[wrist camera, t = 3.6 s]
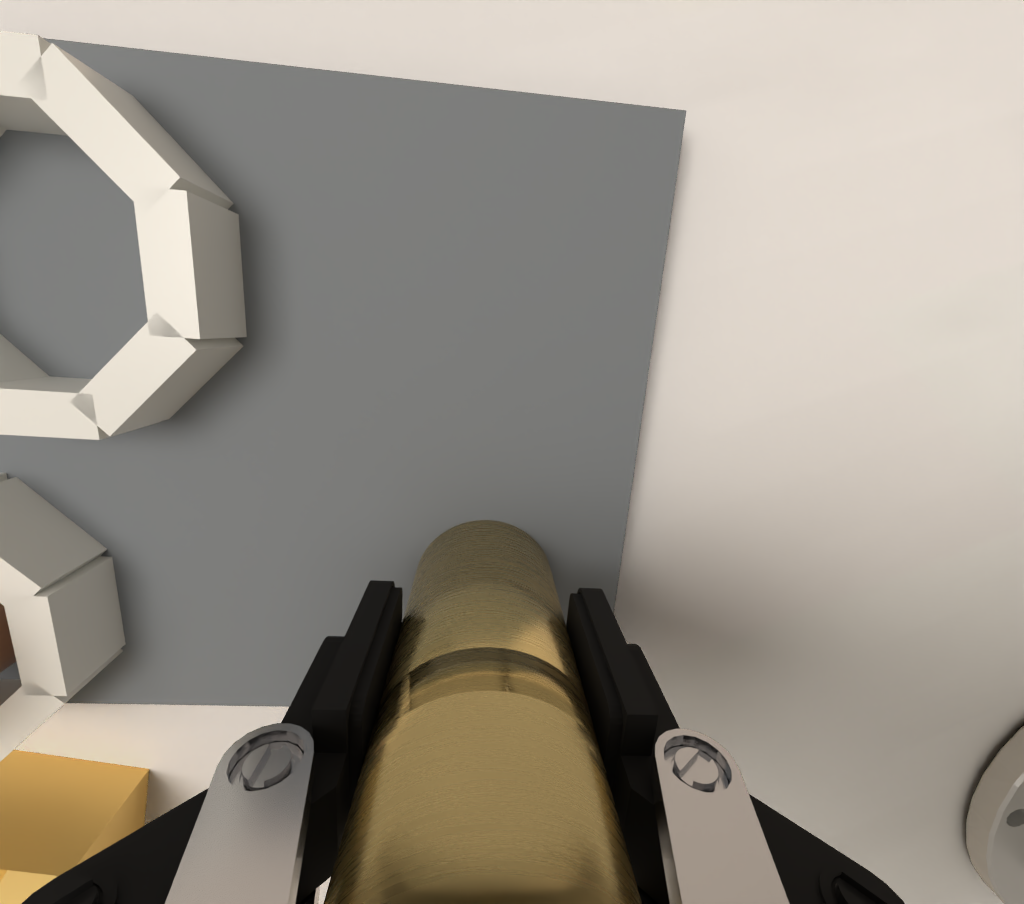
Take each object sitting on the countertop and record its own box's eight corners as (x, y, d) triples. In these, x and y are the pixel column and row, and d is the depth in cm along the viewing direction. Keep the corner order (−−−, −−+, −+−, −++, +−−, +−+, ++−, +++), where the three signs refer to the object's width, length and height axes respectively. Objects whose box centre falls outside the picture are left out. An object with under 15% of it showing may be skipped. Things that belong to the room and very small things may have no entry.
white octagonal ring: (230, 101, 10) (174, 50, 9) (252, 427, 12) (209, 446, 10) (-134, 62, 10) (-284, -2, 8) (-54, 409, 12) (-159, 426, 10)
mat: (666, 130, 12) (686, 110, 11) (591, 684, 16) (599, 711, 15) (-287, 27, 11) (-382, -10, 9) (-96, 670, 15) (-145, 699, 14)
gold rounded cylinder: (558, 522, 14) (776, 1108, 3) (545, 643, 15) (685, 1373, 4) (416, 516, 13) (194, 1139, 3) (414, 639, 14) (240, 1414, 4)
